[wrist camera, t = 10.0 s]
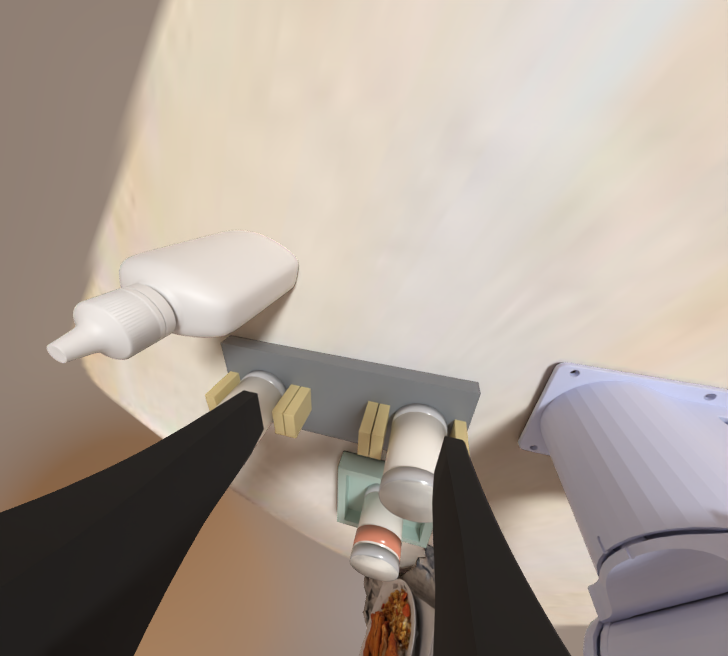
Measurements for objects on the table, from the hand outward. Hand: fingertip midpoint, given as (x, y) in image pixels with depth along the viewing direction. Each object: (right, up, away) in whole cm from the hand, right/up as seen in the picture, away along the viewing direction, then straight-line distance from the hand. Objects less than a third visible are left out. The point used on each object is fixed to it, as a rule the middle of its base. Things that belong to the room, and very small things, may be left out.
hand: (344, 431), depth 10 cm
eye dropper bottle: (-6, +9, +9) cm, 14 cm away
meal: (+5, -26, +25) cm, 37 cm away
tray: (+3, -13, +18) cm, 22 cm away
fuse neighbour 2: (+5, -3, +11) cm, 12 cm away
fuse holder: (-1, -2, +13) cm, 13 cm away
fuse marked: (+3, -13, +17) cm, 22 cm away
